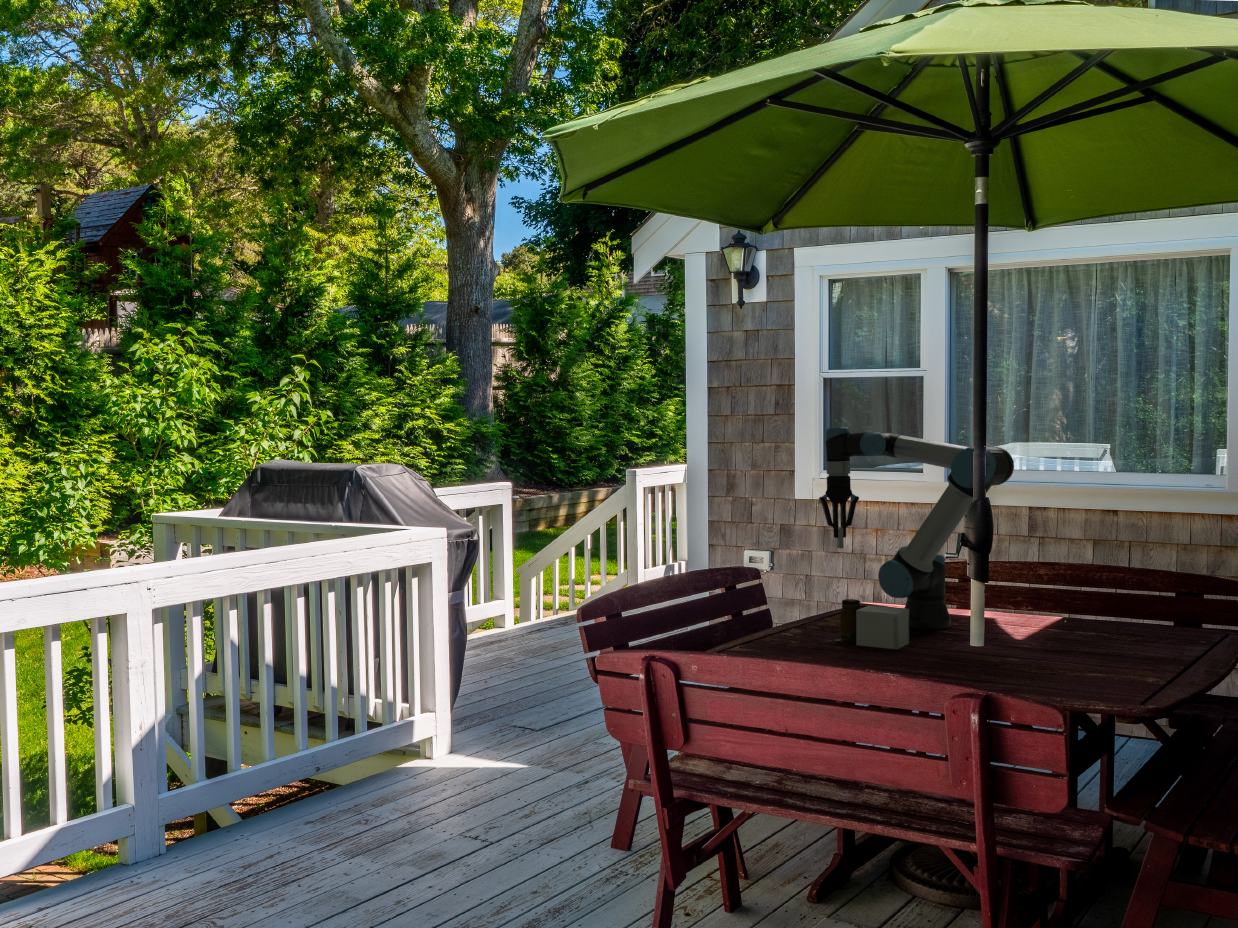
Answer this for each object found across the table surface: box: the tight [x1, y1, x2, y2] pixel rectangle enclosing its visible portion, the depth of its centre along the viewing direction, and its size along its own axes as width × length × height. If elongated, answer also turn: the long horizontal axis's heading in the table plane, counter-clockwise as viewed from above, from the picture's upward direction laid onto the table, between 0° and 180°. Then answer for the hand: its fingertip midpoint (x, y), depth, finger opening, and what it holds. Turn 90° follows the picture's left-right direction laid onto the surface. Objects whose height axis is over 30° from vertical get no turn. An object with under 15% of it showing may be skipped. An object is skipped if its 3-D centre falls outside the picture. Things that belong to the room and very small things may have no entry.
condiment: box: [835, 598, 861, 644], centre depth 307 cm, size 7×8×12 cm
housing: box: [855, 605, 910, 650], centre depth 302 cm, size 12×10×10 cm
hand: (840, 547), depth 339 cm, fingers closed
